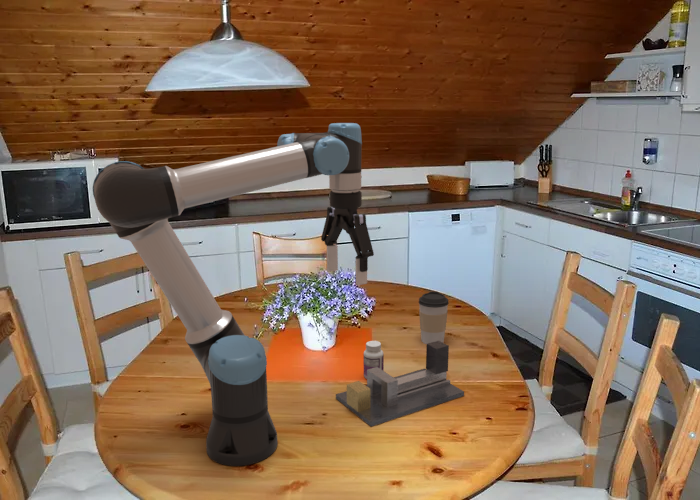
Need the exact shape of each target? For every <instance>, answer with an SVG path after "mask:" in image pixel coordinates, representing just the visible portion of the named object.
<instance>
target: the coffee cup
mask: <svg viewBox="0 0 700 500" xmlns="http://www.w3.org/2000/svg"><path fill="white" fill-rule="evenodd" d="M418 305H419V306H418V307H419V310H418V311H419V314H418V315H419V329H420V341H421V343H422V342H423V343H422V344H425V345H427V344H428V343H431V342H435V341H441V342H443V343H444V342H445V333H446V329H447V319H448V305H449V298H447V297H446V296H445V294H442V293H440V292H438V291H433V290H431V291H429V292H426V293H424V294H422V296H421V297H419V298H418ZM444 344H445V343H444Z"/></svg>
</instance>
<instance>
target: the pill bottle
mask: <svg viewBox="0 0 700 500" xmlns="http://www.w3.org/2000/svg"><path fill="white" fill-rule="evenodd" d="M384 357H385V355H384V350H382V344H381V342H380V341H378V340H370V341H367V342H366V343H365V350H364V351H363V377H364V379H366V380H367V370H368V369H371V368H375V367H378V368H380V369H381V370H383V371H384V359H385V358H384ZM384 372H385V371H384Z"/></svg>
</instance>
